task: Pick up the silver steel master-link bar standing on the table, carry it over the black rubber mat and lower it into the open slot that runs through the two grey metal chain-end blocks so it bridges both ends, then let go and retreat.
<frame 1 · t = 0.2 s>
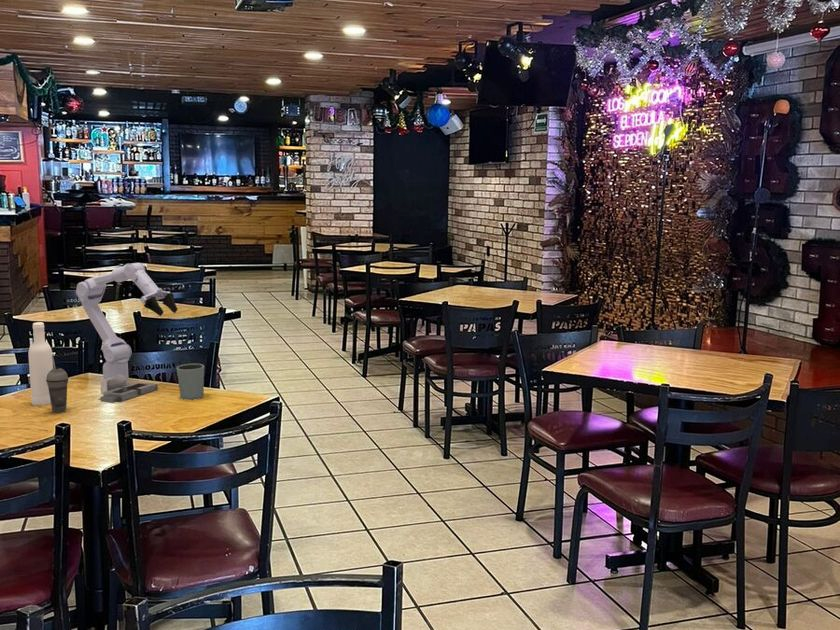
hand: (169, 312, 308), 31 cm above the table, tool tilted 45°, fingers open, 7 cm apart
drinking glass: (191, 397, 304), on the table
chain end 2: (139, 391, 310), resting on mat
bottle: (43, 403, 293), on the table
master link: (113, 392, 310), on the table
chain end 1: (120, 397, 301), resting on mat
beverage cup: (59, 411, 284), on the table
mat: (129, 395, 306), on the table
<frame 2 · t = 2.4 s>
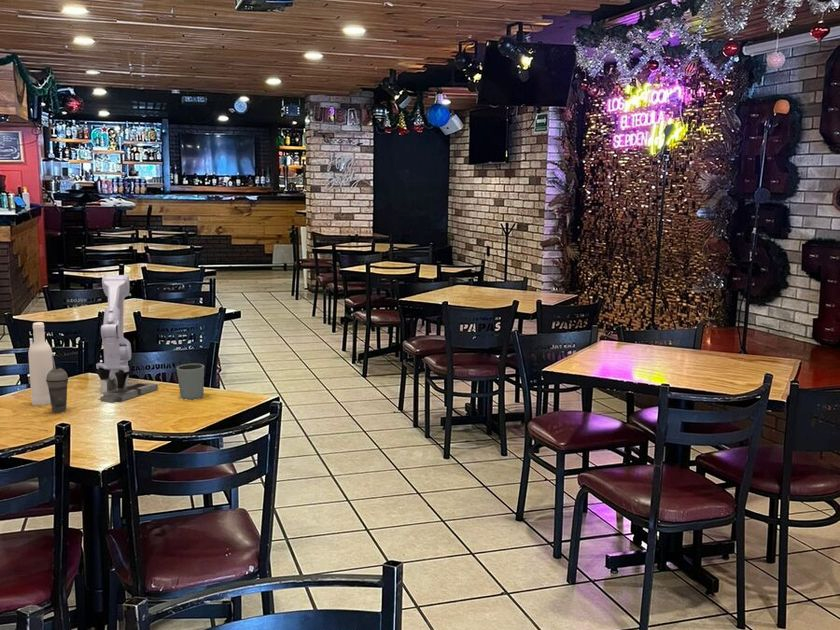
hand: (113, 388, 310), 2 cm above the table, tool pointing down, fingers open, 7 cm apart
nothing on the table moved.
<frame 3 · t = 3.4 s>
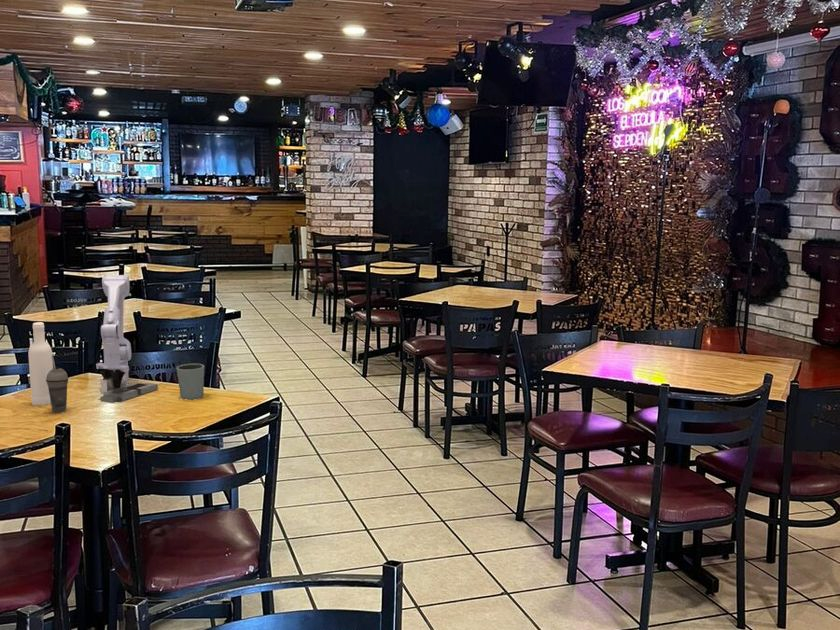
hand: (113, 388, 310), 2 cm above the table, tool pointing down, fingers closed on master link, 3 cm apart
master link: (113, 392, 310), on the table, touching gripper
everything else where it was.
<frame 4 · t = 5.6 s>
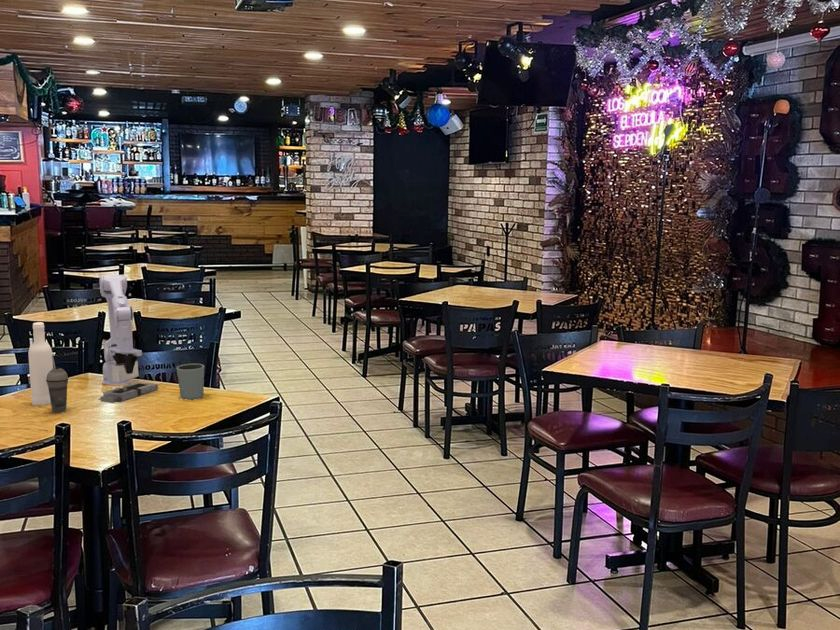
hand: (126, 372, 305), 9 cm above the table, tool pointing down, fingers closed on master link, 3 cm apart
master link: (125, 378, 305), point 7 cm above the table, touching gripper
everything else where it was.
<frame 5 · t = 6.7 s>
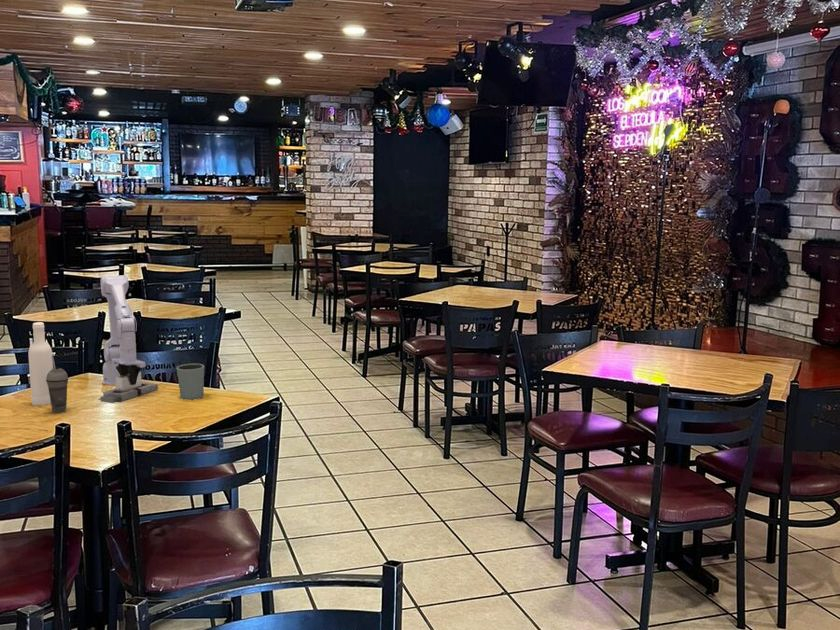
hand: (129, 384, 305), 5 cm above the table, tool pointing down, fingers closed on master link, 3 cm apart
master link: (129, 389, 305), point 2 cm above the table, touching gripper
everything else where it was.
when the fingers open (4 cm above the table, at t = 7.7 s): master link stays where it is, resting on mat.
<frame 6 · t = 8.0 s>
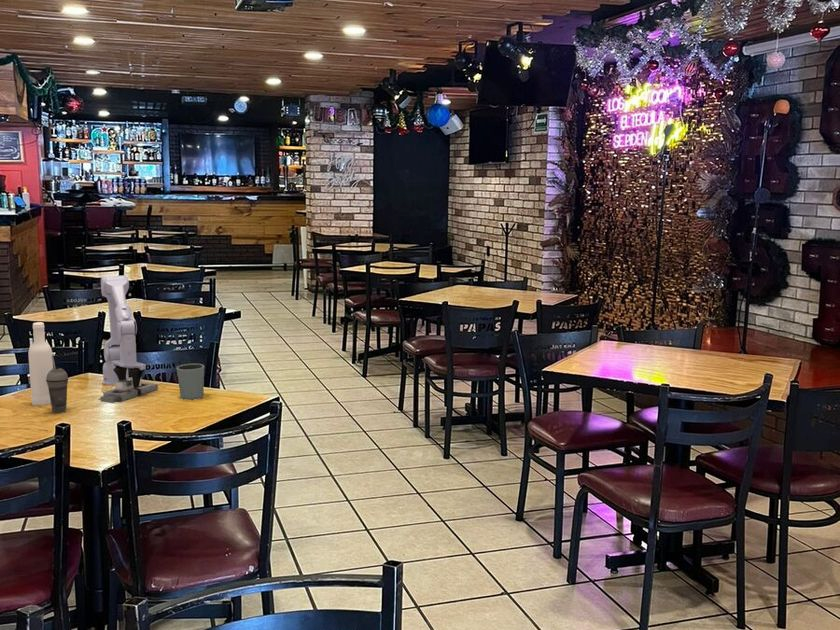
hand: (129, 386, 305), 4 cm above the table, tool pointing down, fingers open, 6 cm apart
master link: (129, 394, 305), resting on mat
everything else where it was.
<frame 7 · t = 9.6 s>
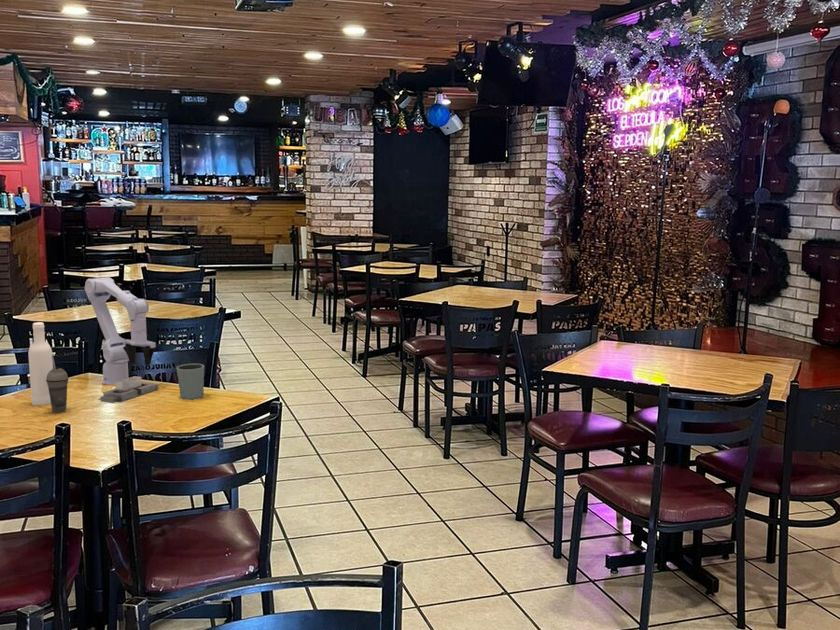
hand: (140, 364, 314), 10 cm above the table, tool pointing down, fingers open, 7 cm apart
nothing on the table moved.
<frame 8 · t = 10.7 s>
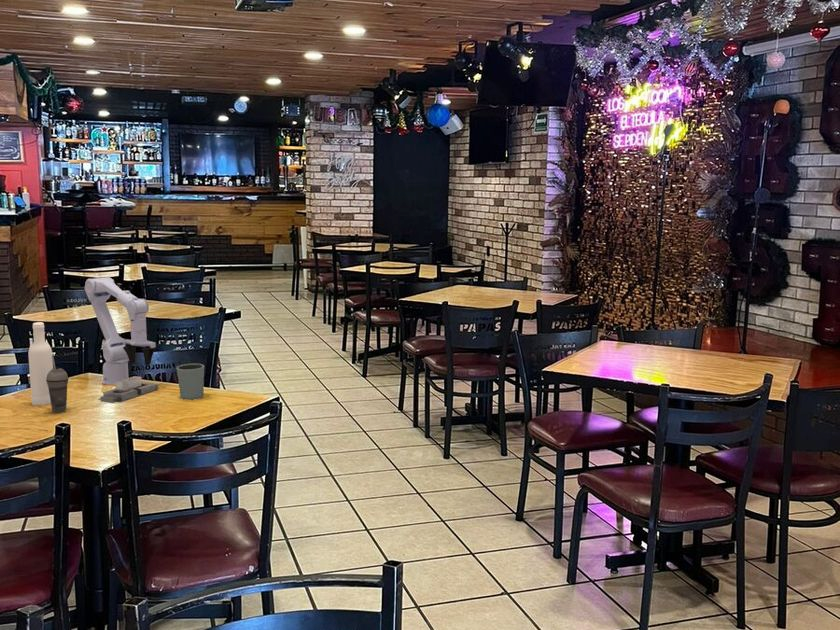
hand: (140, 364, 314), 10 cm above the table, tool pointing down, fingers open, 7 cm apart
nothing on the table moved.
at the end: master link 0.4 cm from the target spot, resting on mat; master link tilted 0°; the gripper is holding nothing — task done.
